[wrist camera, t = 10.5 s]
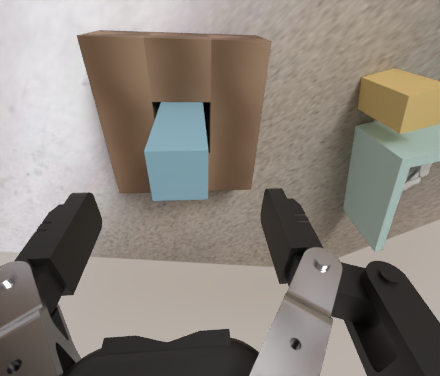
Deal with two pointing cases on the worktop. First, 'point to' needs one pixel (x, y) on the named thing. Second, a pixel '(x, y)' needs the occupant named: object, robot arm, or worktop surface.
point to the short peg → (400, 100)
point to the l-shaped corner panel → (385, 174)
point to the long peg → (178, 153)
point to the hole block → (178, 96)
